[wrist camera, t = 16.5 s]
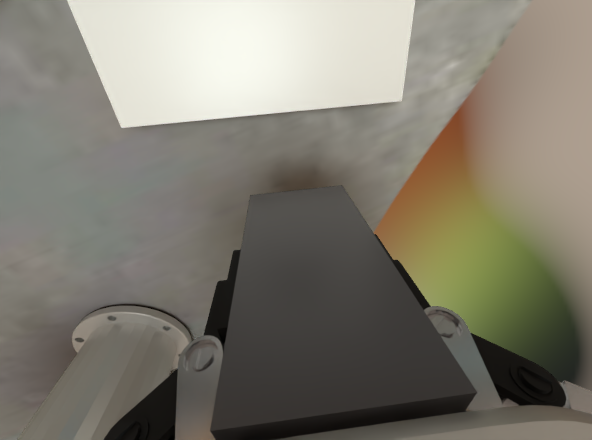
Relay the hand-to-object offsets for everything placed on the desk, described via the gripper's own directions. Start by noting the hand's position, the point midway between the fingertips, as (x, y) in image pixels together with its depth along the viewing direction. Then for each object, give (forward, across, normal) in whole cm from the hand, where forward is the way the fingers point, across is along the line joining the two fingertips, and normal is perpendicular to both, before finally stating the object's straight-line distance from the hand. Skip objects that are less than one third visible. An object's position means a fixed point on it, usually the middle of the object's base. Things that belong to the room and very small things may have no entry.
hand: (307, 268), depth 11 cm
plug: (+3, 0, 0) cm, 3 cm away
